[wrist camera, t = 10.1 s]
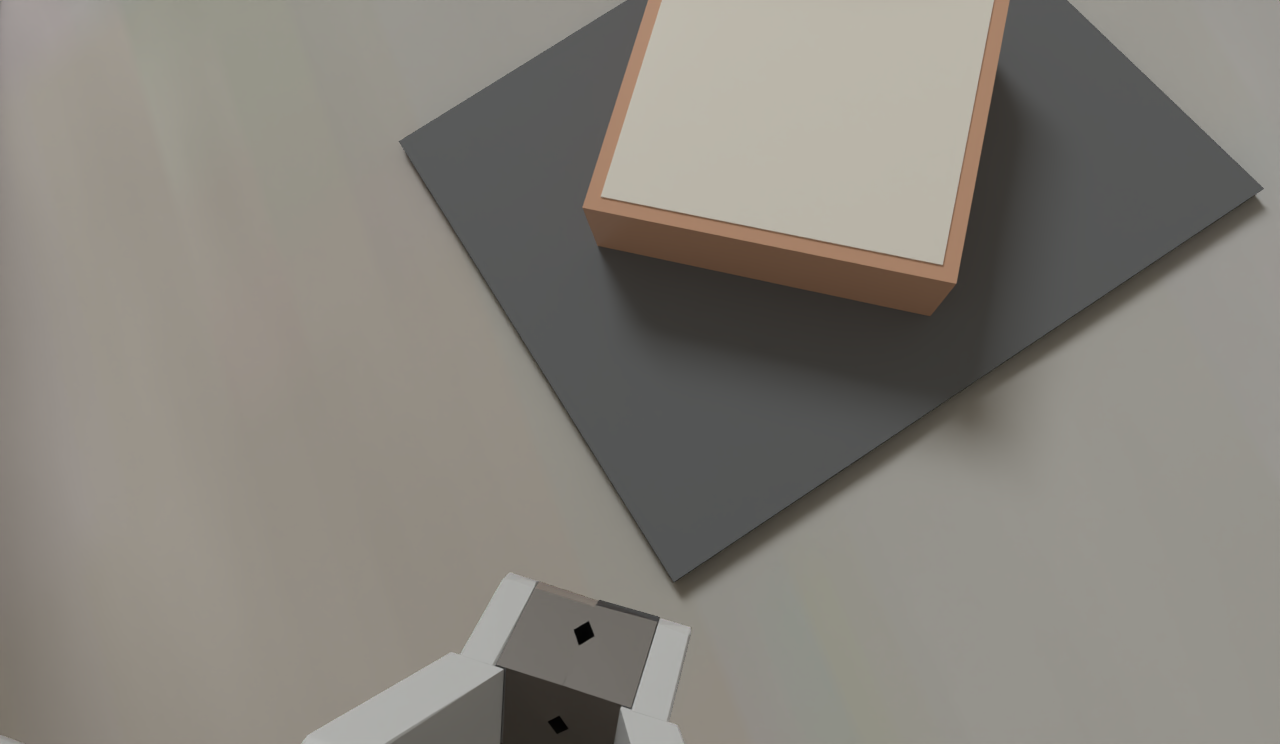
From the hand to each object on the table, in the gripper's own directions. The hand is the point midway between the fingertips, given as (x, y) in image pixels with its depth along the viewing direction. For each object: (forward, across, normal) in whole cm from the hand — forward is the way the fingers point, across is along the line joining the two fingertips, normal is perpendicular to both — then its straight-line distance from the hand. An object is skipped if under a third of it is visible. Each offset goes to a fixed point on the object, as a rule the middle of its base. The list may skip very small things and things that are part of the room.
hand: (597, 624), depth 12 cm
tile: (+16, -1, 0) cm, 16 cm away
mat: (+21, -1, -2) cm, 21 cm away
